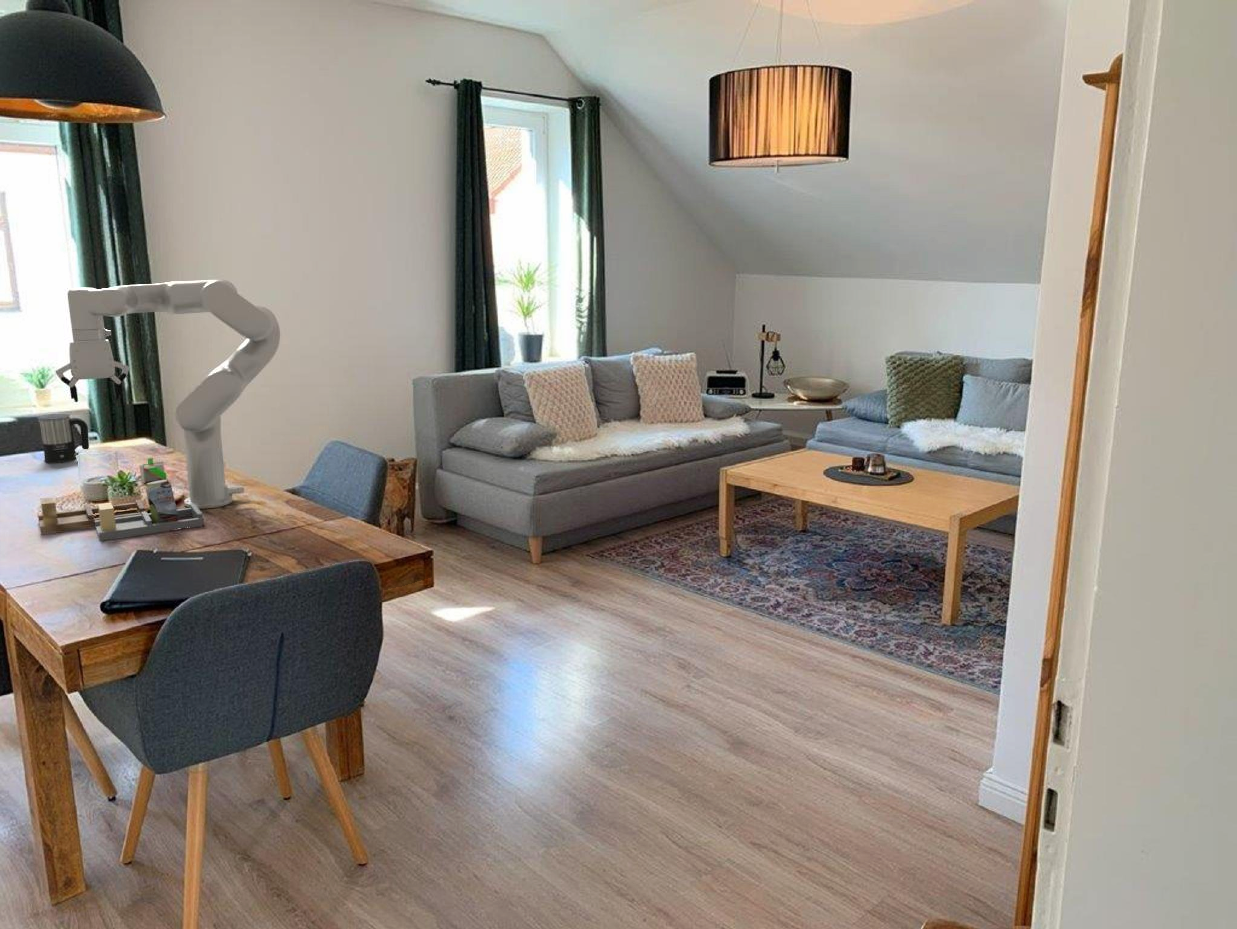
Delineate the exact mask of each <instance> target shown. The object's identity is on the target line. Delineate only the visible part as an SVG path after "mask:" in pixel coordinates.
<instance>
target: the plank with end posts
mask: <svg viewBox="0 0 1237 929" xmlns="http://www.w3.org/2000/svg"><path fill="white" fill-rule="evenodd" d="M134 500H135V502H128V503H120V504H114V505H113V504H112V506H113V508H114V511H115V510H127V509H130V508H137V511H138V513H137V511H136V512H134V513H133V512H130V513H125V514H117V515H114V516H115V518H118V517H126V516H133V515H140V514H141V512H144V511H146V507H145V505H144V504H143V503H142V500H141V499H140V498H139V499H134ZM40 506H41V512H42V513H41V514H37V518H38V523H39V530H40V535H46V534H47V535H48V534H55V533H62V532H71V531H76V530H83V529H90V528H91V529H92V528H95V521H96V520H100V519H99V517H96V518H94V517H95V516H94V515H93V514H95V513H99V511H98V506H95V507H91V505H85V506H84V508H83V509H82V508H80V509H73V510H66V511H59V512H57V506H56V500H55V497H54V496H53V497H43V498H40Z"/></svg>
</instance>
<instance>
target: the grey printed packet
mask: <svg viewBox="0 0 1237 929" xmlns="http://www.w3.org/2000/svg"><path fill="white" fill-rule="evenodd" d="M172 487H173V486H172V484H171V483H170V482H169V480H168V479H167V480H162V479H159V480H153V481H149V482H146V487H145V493H146V497H147V501H148V507H149V510H150V513H151V515H152V520H153V521H152V524H158V523H165V522H172V521H179V520H180V518H178V513H177V510H178V509H177V505H176V500H175V495H174V491H173V488H172Z"/></svg>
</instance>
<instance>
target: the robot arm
mask: <svg viewBox="0 0 1237 929" xmlns="http://www.w3.org/2000/svg"><path fill="white" fill-rule="evenodd" d="M67 302H68V309H69V318H70V324H71V333H72V334H71V335H72V340H70V341H69V347H68V348H69V350H68V351H69V353H68V354H69V363H68V364H66V365H63V366H61V367H60V368H58V369H57V370H55V374H56V375H57V377H58V378H59V379H60V381H61V382H63V383H64V384H65V385H67V386H68V387H69V392H70V398H71V400H72V399H73V400H74V403H77V402H79V398H78V388H77V386H76V384H77V382H78V381H80V380H94V379H108V378H109V379H111V380H113V383H112V385H113V394H114V398H115V399H116V400H119V399H120V396H122V391H121V383H122V382H123V381H124V380H125V379H126V378H127V376H128V374H129V371H130V370H131V369H130V368H131V367H130V366H129V365H126V364H124V363H121V362H119V361H116V360H114V356H113V351H112V348H111V347H112V346H111V343H110V341H109V339H106V338H107V337H108V336H112V331H111V330H108V329H105V322H104V316H105V317H113V318H115V317H117V318H118V317H122V316H125V315H127V314H140V313H161V312H162V313H166V314H167V313H168V314H172V315H184V314H201V313H202V314H203V313H210V314H211V315H212V316H214V317H215V318H217V319H218V320H219V321H221V322H222V323H223V324H225V325H226V326H228V327H229V328H230V329H232V330H234V332H236V333H238V334H239V335H240V336H241V337H244V338H245V340H244V341H243V342H242V343H241V344H240V345H239V346H238V347H237V348H236V350H235V351H233V353H232V354H231V355H230V356H229V357H228V358H227V359H226V360H225V361H223V362H222V363H221V364H220V365H218V366H217V367H215V368H214V369H213V370H212V371H210V372H209V373H208V374H207V376H205V377H204V378H203V380H201V381H200V383H198V384H197V385H196V386H195V387H194V388H193V389H192V390H191V392H189V393H188V394H187V395H186V396H185V397H184V398H183V399H182V400H181V401H180V402H179V403H178V404H177V406H176V408H175V412H174V416H175V421H176V423H177V425H178V426H179V427H180V428H181V429H182V430H183V444H184V452H185V453H184V454H185V455H184V456H185V464H186V472H187V473H186V474H187V482H188V492H189V496H188V497H187V498H185V499H184V500H183V504H184V506H185V508H191V505H196V506H197V507H198V508H199V510H200V509H202V510H203V509H205V510H206V509H213V508H220V507H224V506H226V505H229V504H231V503H233V500H234V499H233V498H234V497H233V495H234V494H235V495H238V494H244V493H245V487H244V486H237V485H236V486H234V485H233V486H229V485H227V484H226V475H225V463H224V453H223V444H222V443H223V440H222V427H221V426H222V424H221V423H222V421H221V419H222V418H221V416H222V415H223V414H224V413H225V412H227V410H228V409H229V408H230V407H231V406H232V405H233V404H234V403H235V402H236V401H237V400H238V399H239V398H240V397H241V395H242V394H243V392H244V391H245V389H246V387H247V386H248V385H249V384H251V382H252V381H253V380H254V379H255V378H256V377H257V376H258V375H259V374H260V372H262V371H263V370H264V369H265V368H266V367H267V365H268V364H269V363H270V362H271V361H272V359H273V358H274V357H275V355H276V353H277V351H278V349H279V346H280V342H281V330H280V326H279V322H278V320H277V317H276V316H275V314H274V312H273V311H272V310H270V309H269V308H267V307H264V306H256V305H255V304H253V303H251V302H250V301H249V300H247V299H245V297H243V296H242V295H240V294H239V293H238V290H237V288H236V286H235V285H234V284H233V283H232V282H231V281H229V280H225V279H205V280H203V279H201V280H185V281H183V280H182V281H170V282H169V281H167V282H161V283H152V284H151V283H149V284H129V285H128V284H127V285H117V286H113V287H108V288H101V289H97V288H94V287H73V288H71V289H69V290H68V291H67ZM116 368H119V369H122V371H121V373H120V374H119V376H117V375H116ZM69 370H70V373H71V376H72V377H71V378H70V379H69V378H67V377H66V376H65V375H64V373H65V372H67V371H69Z"/></svg>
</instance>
